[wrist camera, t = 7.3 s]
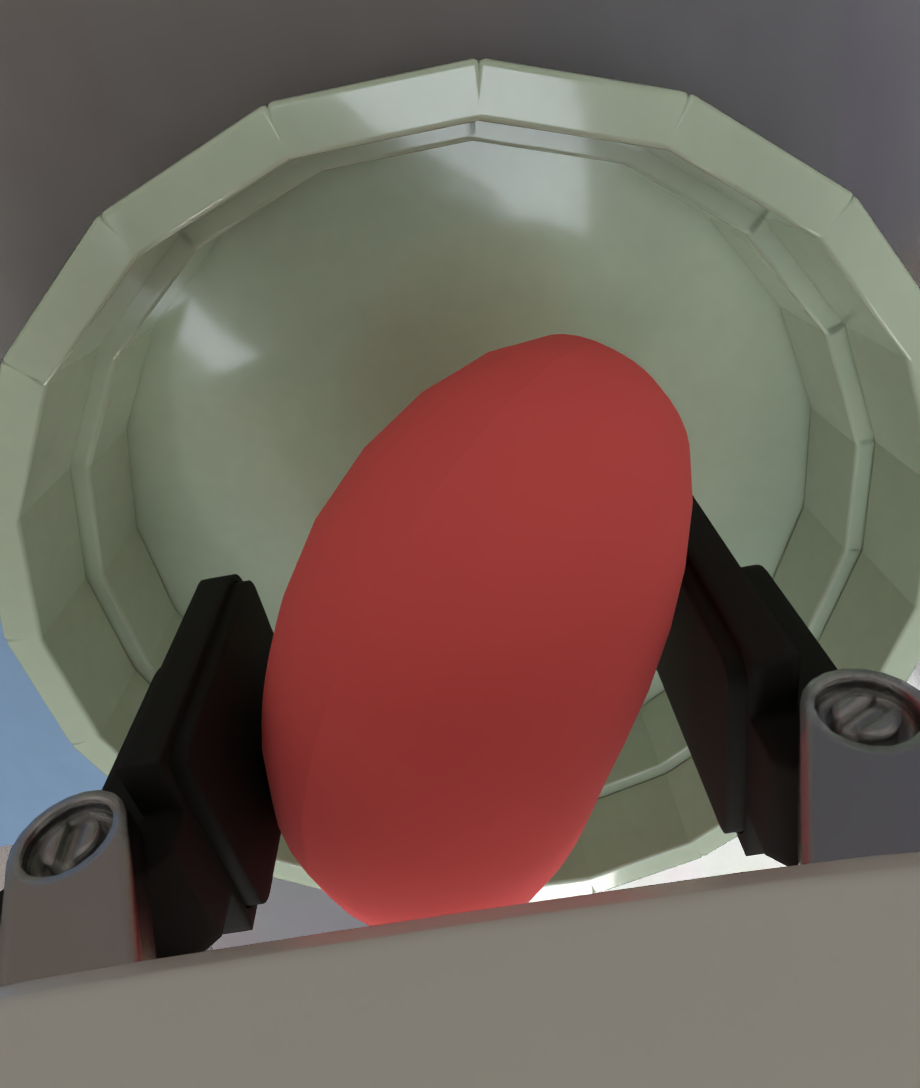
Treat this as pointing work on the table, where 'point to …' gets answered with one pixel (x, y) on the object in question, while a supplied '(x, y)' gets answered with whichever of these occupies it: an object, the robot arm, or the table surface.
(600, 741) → the red oval piece
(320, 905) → the table surface
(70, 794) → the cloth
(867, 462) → the bowl
